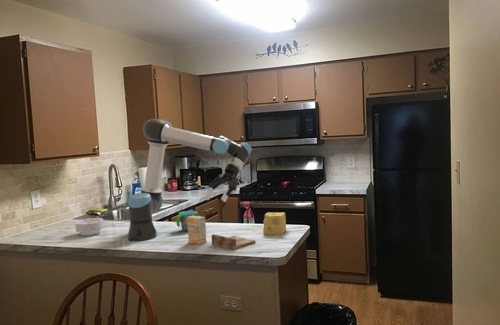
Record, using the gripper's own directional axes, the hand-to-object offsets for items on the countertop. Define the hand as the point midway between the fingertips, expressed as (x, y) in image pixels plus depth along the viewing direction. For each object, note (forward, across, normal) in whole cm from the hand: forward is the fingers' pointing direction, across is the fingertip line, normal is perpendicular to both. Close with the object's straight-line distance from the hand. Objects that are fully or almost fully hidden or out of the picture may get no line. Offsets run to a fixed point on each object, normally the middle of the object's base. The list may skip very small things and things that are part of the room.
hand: (214, 199), depth 206 cm
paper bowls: (+40, +71, +13) cm, 82 cm away
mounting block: (+16, -16, -12) cm, 26 cm away
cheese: (-3, -18, -32) cm, 37 cm away
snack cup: (+13, +28, -15) cm, 34 cm away
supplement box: (+23, +1, -6) cm, 23 cm away
